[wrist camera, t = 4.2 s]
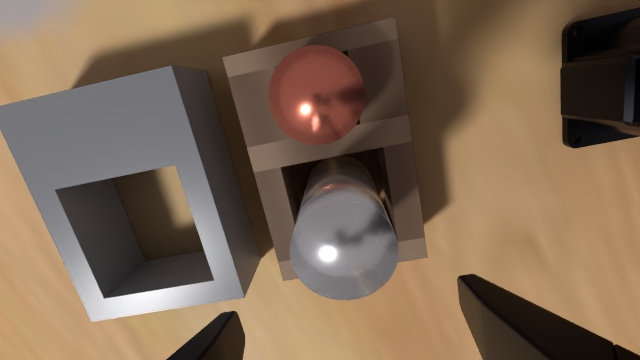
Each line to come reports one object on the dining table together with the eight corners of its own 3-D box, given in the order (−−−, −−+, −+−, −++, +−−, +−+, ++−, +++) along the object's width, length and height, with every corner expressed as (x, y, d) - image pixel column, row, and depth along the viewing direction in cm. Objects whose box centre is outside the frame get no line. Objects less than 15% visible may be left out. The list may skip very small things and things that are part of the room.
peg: (366, 149, 19) (390, 193, 11) (377, 212, 20) (405, 291, 12) (300, 162, 19) (278, 213, 11) (314, 223, 20) (302, 307, 12)
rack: (206, 70, 18) (170, 65, 14) (260, 259, 21) (244, 297, 17) (60, 104, 19) (-10, 108, 15) (134, 280, 22) (91, 321, 18)
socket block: (384, 28, 17) (395, 16, 14) (414, 233, 20) (427, 257, 17) (240, 62, 18) (222, 57, 15) (290, 254, 21) (283, 280, 18)
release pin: (350, 47, 16) (355, 34, 12) (363, 124, 17) (372, 134, 14) (275, 64, 17) (257, 57, 13) (292, 138, 18) (280, 153, 14)
